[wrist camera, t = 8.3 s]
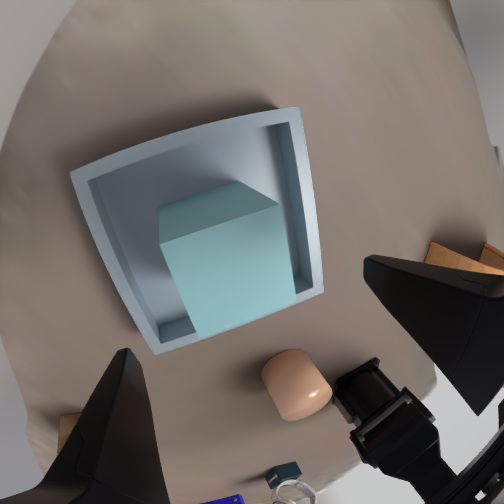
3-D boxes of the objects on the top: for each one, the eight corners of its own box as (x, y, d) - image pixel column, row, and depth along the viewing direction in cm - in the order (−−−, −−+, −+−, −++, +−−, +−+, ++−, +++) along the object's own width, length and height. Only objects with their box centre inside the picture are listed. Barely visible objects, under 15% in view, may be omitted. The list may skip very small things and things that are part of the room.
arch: (430, 239, 26) (500, 278, 17) (486, 242, 33) (530, 267, 24) (415, 285, 28) (476, 330, 20) (475, 274, 35) (517, 301, 26)
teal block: (239, 180, 16) (280, 204, 11) (255, 253, 19) (296, 301, 13) (158, 206, 15) (159, 244, 10) (184, 278, 18) (199, 338, 12)
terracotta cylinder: (305, 341, 25) (332, 377, 20) (309, 371, 27) (332, 404, 23) (256, 362, 24) (277, 403, 19) (265, 390, 26) (284, 427, 22)
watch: (265, 468, 37) (289, 516, 27) (303, 459, 40) (328, 502, 30) (255, 479, 38) (276, 523, 29) (291, 471, 42) (313, 511, 32)
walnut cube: (95, 409, 20) (95, 450, 16) (121, 432, 23) (124, 469, 18) (60, 415, 19) (57, 453, 15) (87, 437, 22) (87, 472, 17)
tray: (280, 109, 16) (298, 106, 14) (307, 276, 22) (323, 292, 19) (81, 167, 13) (69, 172, 11) (153, 332, 19) (154, 355, 17)
